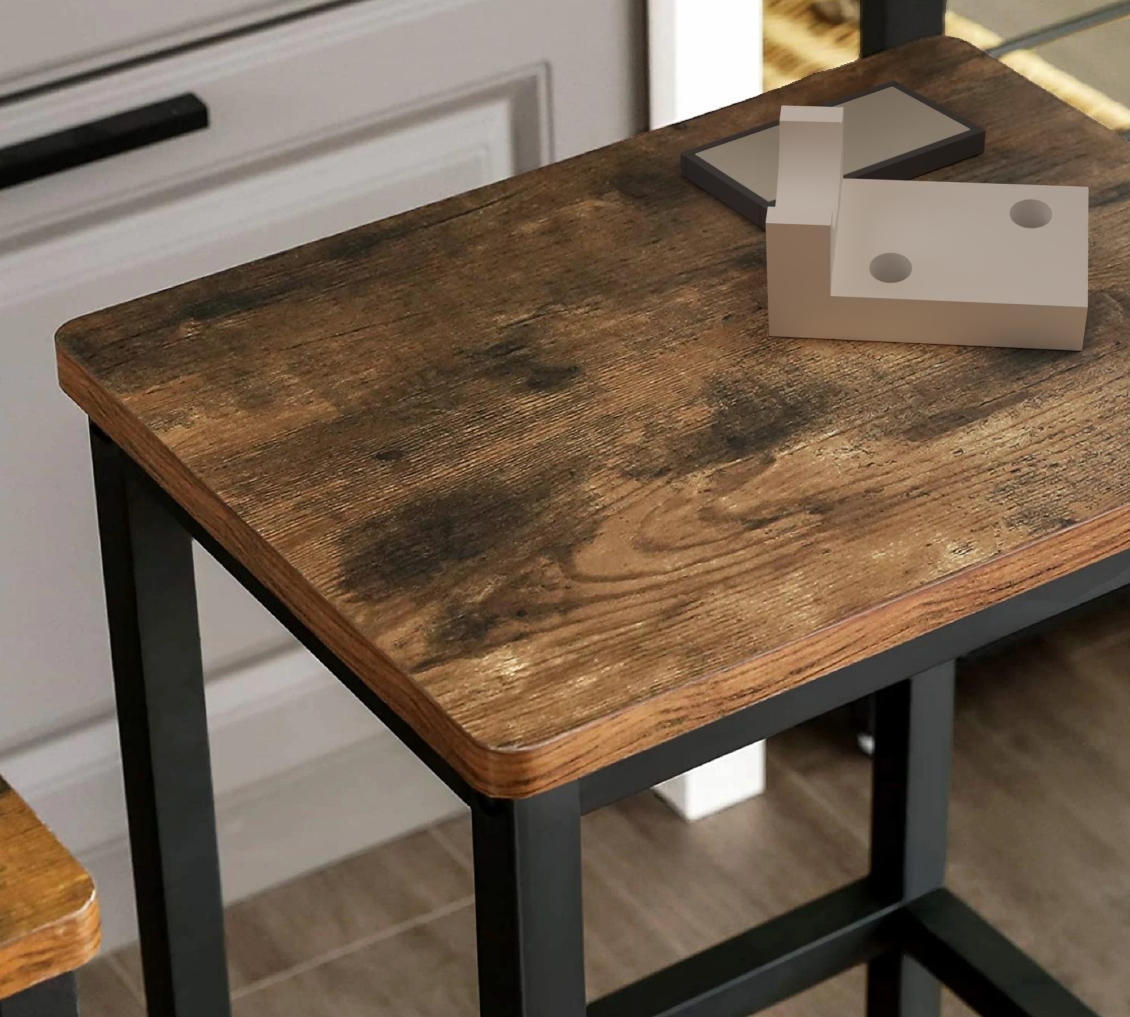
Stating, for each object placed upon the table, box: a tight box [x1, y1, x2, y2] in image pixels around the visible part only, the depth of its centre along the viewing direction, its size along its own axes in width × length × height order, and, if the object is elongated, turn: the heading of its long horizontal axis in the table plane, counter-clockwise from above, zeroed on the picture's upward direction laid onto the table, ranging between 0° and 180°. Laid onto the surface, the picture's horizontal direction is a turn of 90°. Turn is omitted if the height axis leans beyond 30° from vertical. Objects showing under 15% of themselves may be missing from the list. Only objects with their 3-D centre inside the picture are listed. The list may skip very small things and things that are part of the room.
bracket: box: [765, 105, 1089, 352], centre depth 91 cm, size 13×7×8 cm, turn 80°
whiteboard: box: [679, 80, 987, 232], centre depth 104 cm, size 13×7×1 cm, turn 122°
